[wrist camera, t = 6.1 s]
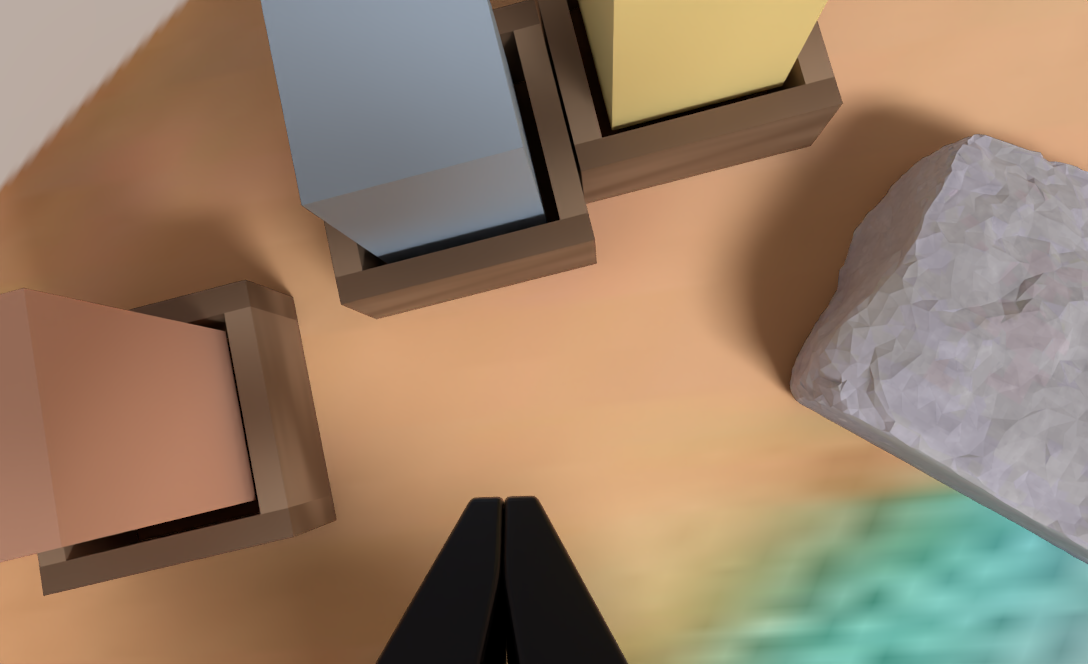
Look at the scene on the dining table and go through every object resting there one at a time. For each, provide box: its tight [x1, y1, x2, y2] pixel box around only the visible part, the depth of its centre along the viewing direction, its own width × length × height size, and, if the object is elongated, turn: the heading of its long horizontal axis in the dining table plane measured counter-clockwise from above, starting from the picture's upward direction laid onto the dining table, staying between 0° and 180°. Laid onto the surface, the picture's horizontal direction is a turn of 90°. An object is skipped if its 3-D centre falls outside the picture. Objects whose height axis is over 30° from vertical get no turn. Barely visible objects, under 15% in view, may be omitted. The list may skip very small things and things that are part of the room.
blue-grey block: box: [261, 0, 548, 264], centre depth 20 cm, size 5×5×8 cm
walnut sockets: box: [38, 0, 843, 596], centre depth 22 cm, size 15×25×3 cm, turn 104°
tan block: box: [0, 288, 256, 562], centre depth 18 cm, size 5×5×8 cm
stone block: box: [790, 134, 1088, 564], centre depth 21 cm, size 12×5×10 cm
